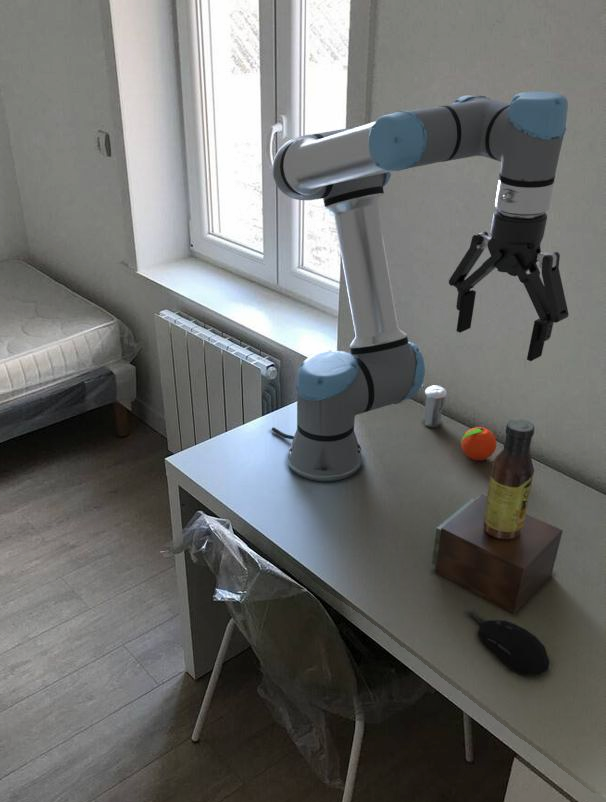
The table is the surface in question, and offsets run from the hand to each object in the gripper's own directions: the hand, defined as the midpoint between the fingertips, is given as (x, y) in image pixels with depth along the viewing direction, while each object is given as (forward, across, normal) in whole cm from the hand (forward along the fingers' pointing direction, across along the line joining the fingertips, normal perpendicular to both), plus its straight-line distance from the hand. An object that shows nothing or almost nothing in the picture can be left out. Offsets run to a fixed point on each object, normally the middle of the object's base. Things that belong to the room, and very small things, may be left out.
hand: (497, 343), depth 125 cm
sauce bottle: (+26, +12, -9) cm, 30 cm away
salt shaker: (+37, -27, +21) cm, 50 cm away
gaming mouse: (+36, +24, -21) cm, 48 cm away
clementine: (+37, -12, +18) cm, 42 cm away
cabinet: (+36, +12, -9) cm, 39 cm away
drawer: (+35, +10, -9) cm, 38 cm away
